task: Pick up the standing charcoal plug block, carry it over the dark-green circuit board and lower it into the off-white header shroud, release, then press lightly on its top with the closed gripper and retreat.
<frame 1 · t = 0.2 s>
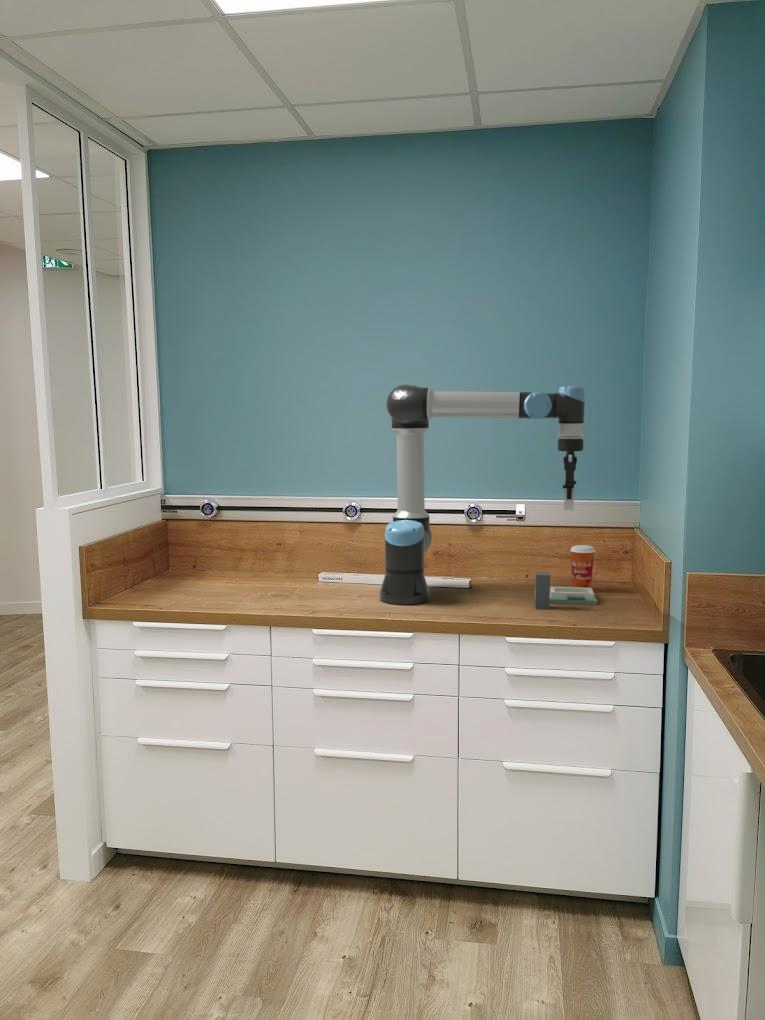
hand: (569, 507, 249), 27 cm above the worktop, fingers open, 13 cm apart
board: (564, 598, 249), on the worktop
plug: (542, 607, 237), on the worktop
paper cup: (581, 590, 260), on the worktop
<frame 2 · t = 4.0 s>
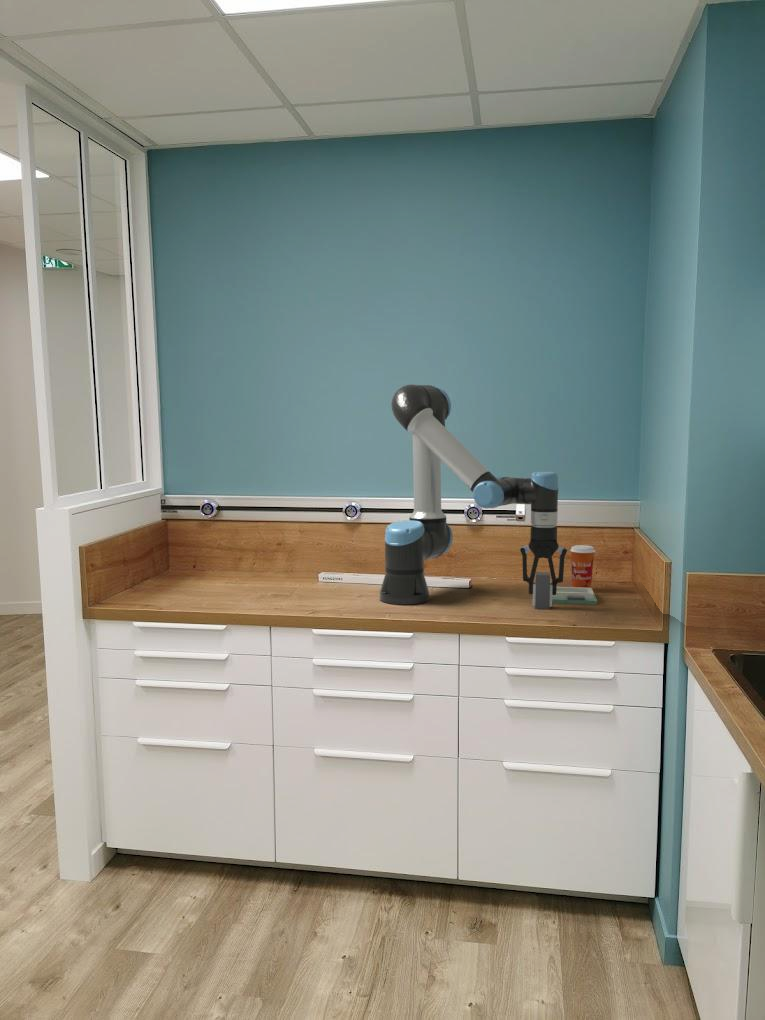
hand: (542, 605, 237), 1 cm above the worktop, fingers closed on plug, 4 cm apart
plug: (542, 607, 237), on the worktop, touching gripper
everything else where it was.
when the fingers open (3 cm above the worktop, at t = 8.4 s): plug stays where it is, resting on board.
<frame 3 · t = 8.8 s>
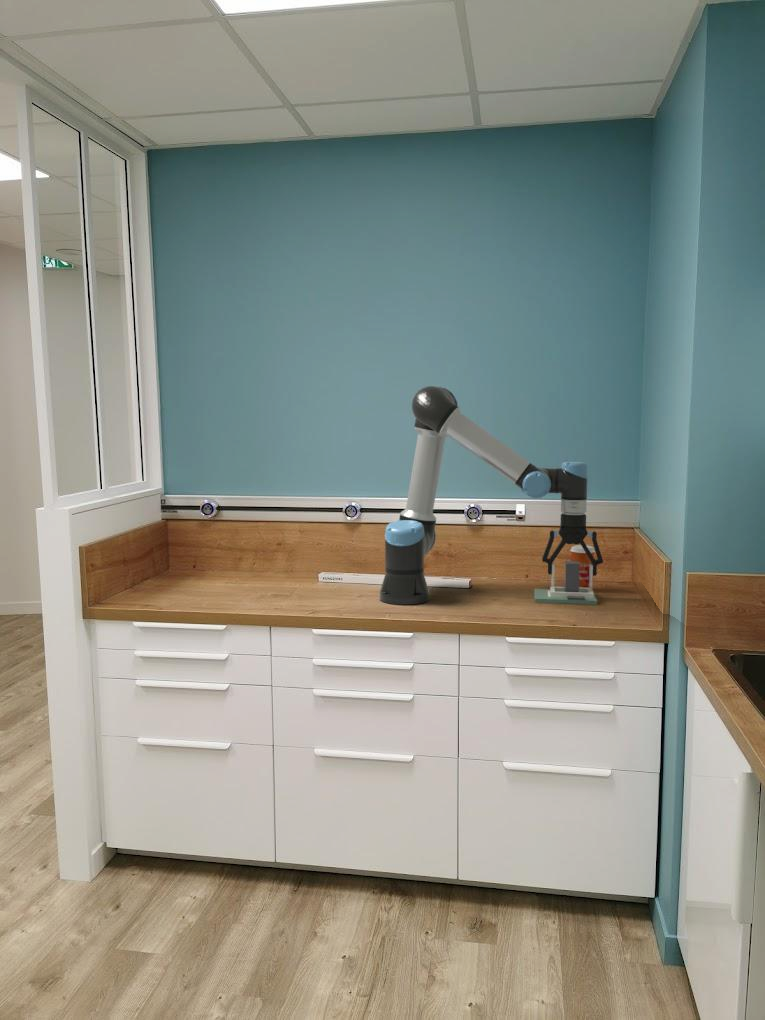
hand: (571, 585, 248), 4 cm above the worktop, fingers open, 10 cm apart
plug: (571, 594, 248), point 1 cm above the worktop, touching board
everything else where it was.
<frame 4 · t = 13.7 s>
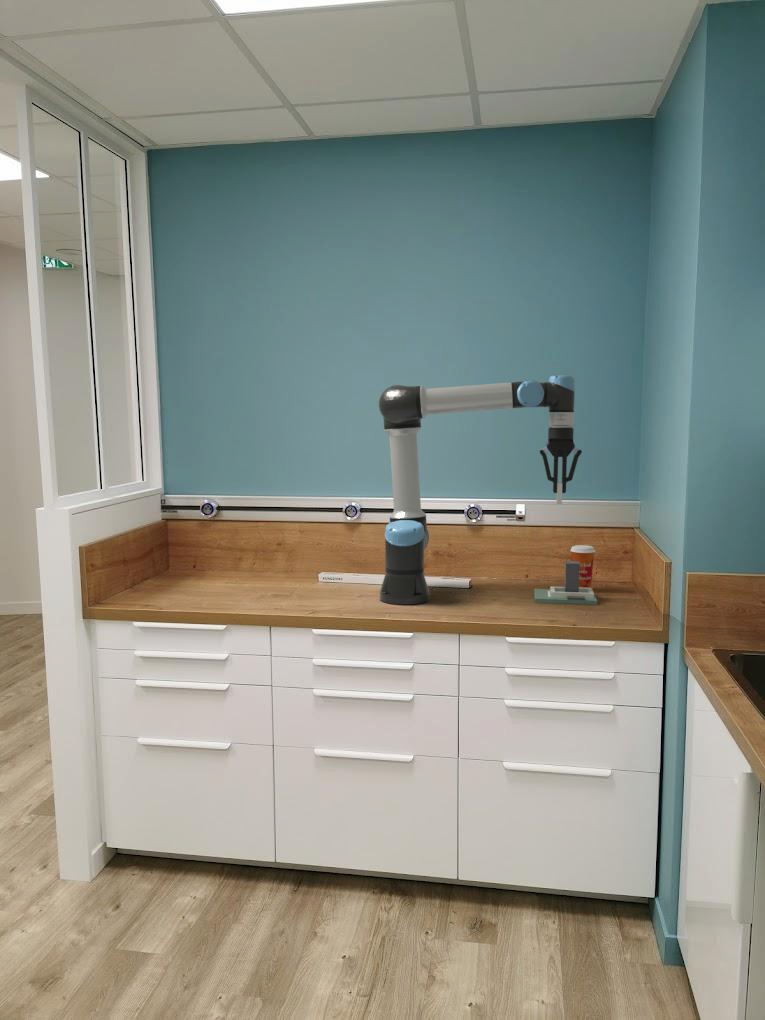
hand: (559, 503, 251), 28 cm above the worktop, fingers closed
nothing on the worktop moved.
at the end: plug 0.1 cm from the target spot on the board, point 1.2 cm above the board's base; plug tilted 0°; the gripper is holding nothing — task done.
